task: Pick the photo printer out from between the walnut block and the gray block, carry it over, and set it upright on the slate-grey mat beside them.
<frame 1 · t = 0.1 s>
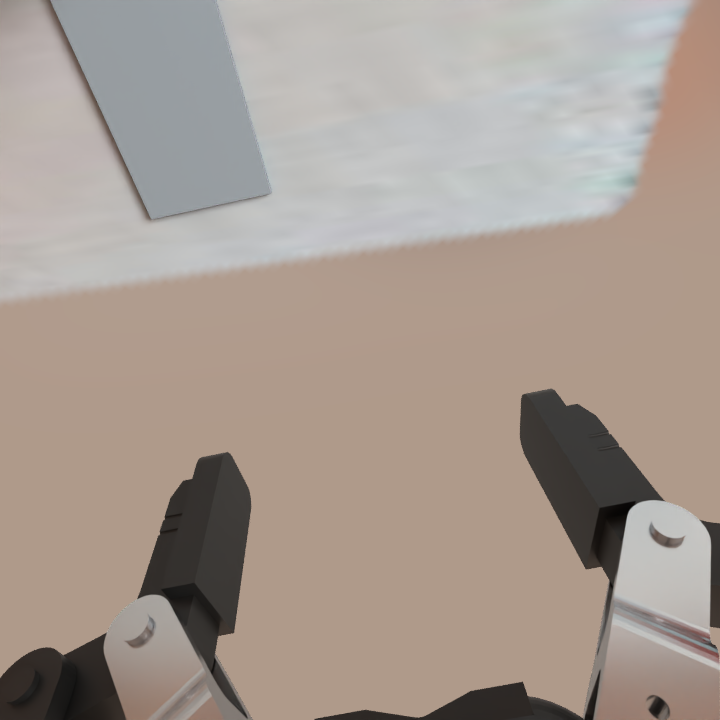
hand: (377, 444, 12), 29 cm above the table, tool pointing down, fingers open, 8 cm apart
slate mat: (173, 100, 31), on the table
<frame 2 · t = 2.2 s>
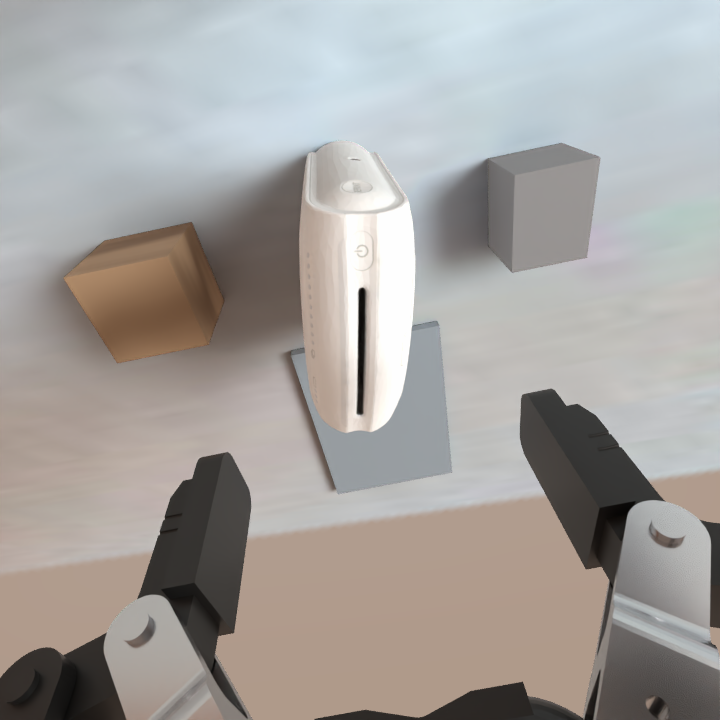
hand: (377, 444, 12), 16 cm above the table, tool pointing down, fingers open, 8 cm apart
photo printer: (342, 234, 25), on the table
slate mat: (380, 416, 34), on the table
gray block: (521, 197, 25), on the table
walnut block: (168, 271, 26), on the table
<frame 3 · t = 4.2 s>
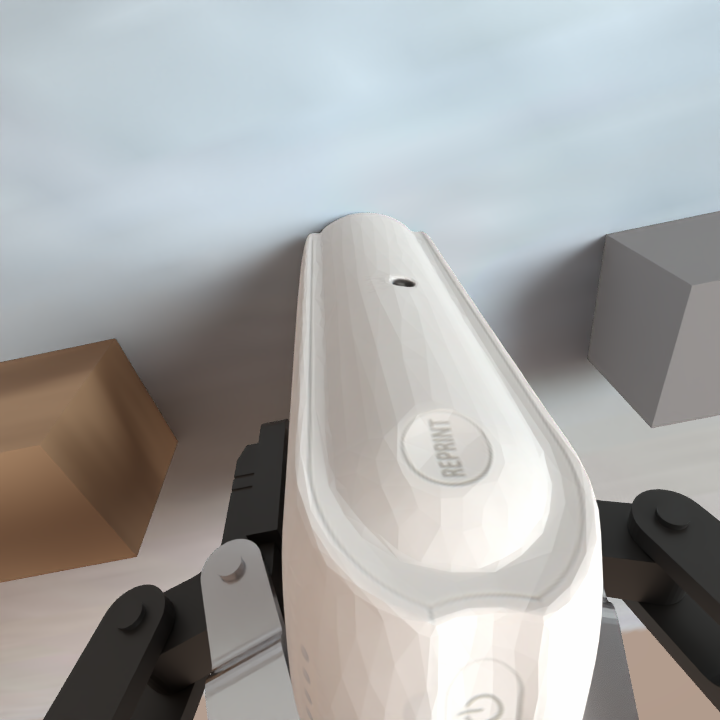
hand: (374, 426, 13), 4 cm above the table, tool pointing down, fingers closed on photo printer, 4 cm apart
photo printer: (362, 348, 16), on the table, touching gripper
gray block: (650, 289, 16), on the table
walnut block: (85, 406, 16), on the table
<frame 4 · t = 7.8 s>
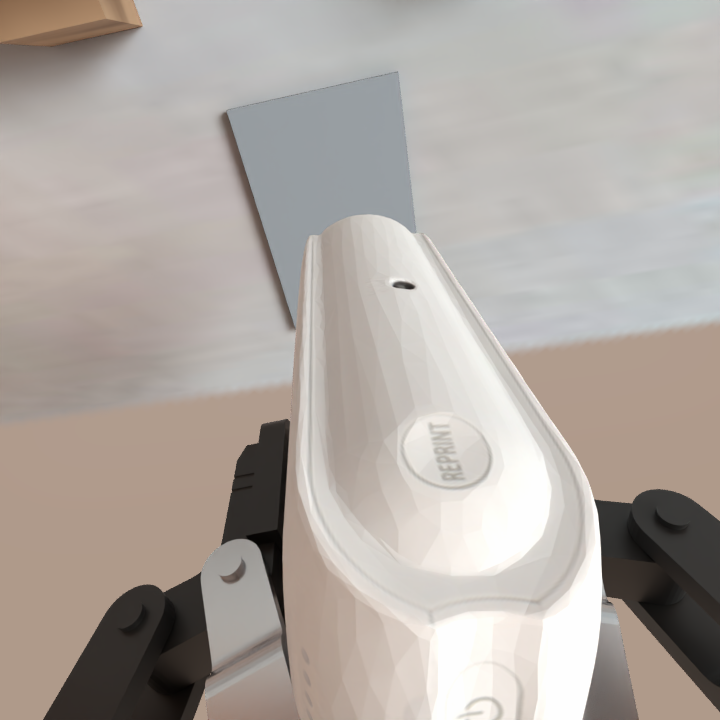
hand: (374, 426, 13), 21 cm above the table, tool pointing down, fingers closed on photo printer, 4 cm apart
photo printer: (362, 349, 16), point 16 cm above the table, touching gripper
slate mat: (339, 218, 30), on the table
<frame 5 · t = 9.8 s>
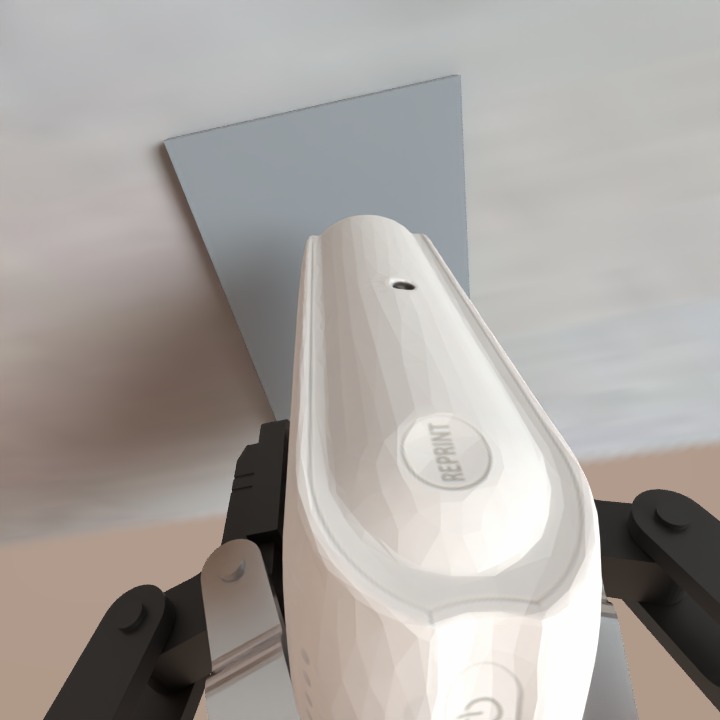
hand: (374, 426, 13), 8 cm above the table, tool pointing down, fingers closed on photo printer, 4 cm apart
photo printer: (362, 349, 16), point 4 cm above the table, touching gripper
slate mat: (352, 300, 19), on the table
when the fingers open (6 cm above the table, at t = 11.2 s): photo printer drops 1 cm, resting on slate mat.
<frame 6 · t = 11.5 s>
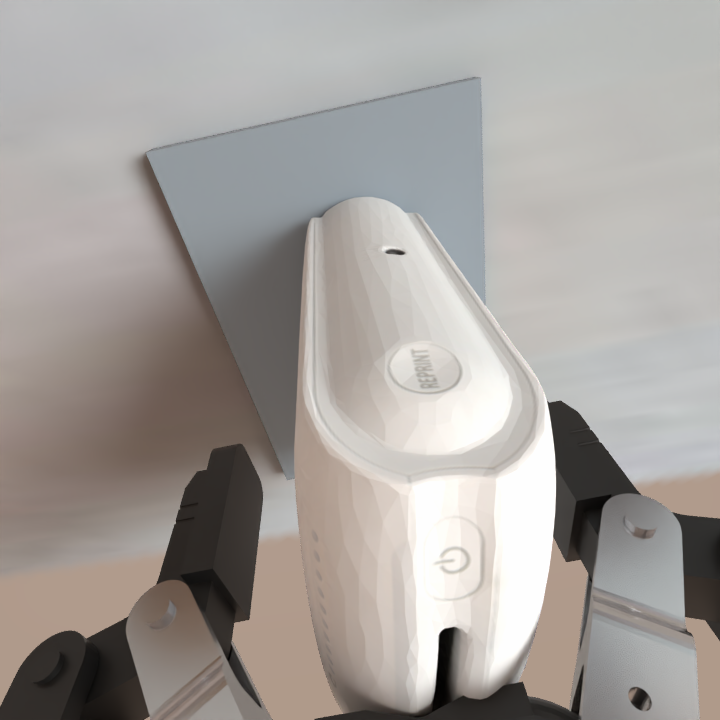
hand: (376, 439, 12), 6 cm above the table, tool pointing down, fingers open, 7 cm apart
photo printer: (364, 326, 17), resting on slate mat
slate mat: (357, 323, 17), on the table
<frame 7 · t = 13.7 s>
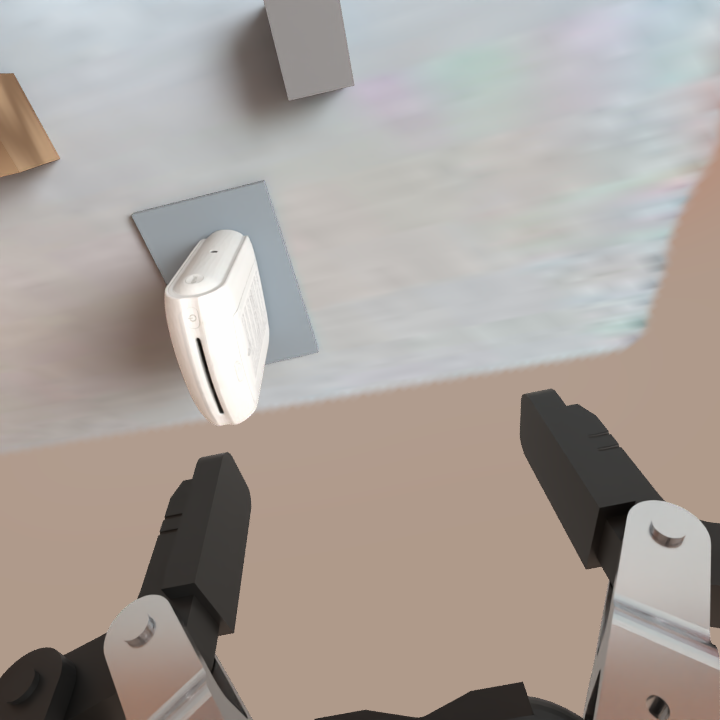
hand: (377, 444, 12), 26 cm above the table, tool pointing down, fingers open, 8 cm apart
photo printer: (238, 288, 36), resting on slate mat
slate mat: (236, 288, 36), on the table
gray block: (311, 45, 28), on the table
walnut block: (2, 127, 29), on the table
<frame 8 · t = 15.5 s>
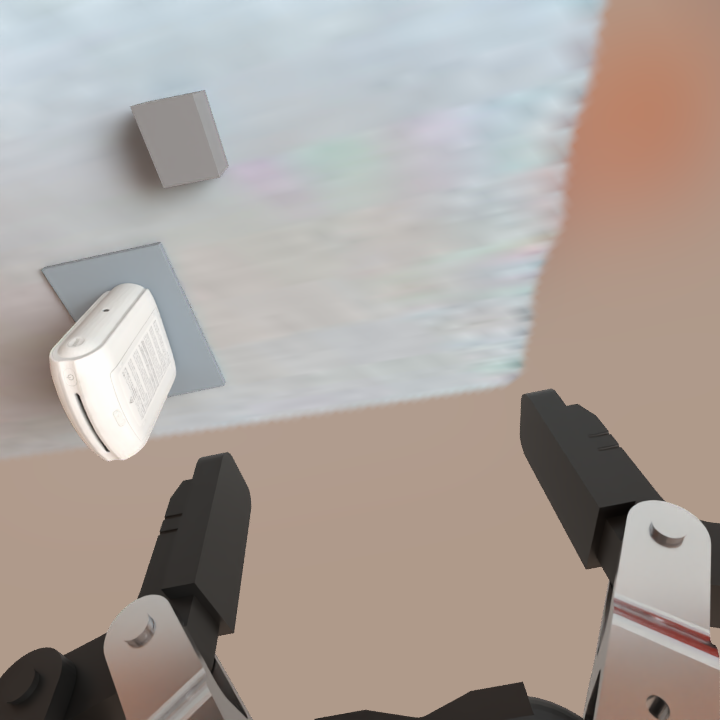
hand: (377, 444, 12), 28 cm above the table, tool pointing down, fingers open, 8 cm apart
photo printer: (145, 331, 40), resting on slate mat
slate mat: (144, 330, 41), on the table
gray block: (191, 134, 32), on the table
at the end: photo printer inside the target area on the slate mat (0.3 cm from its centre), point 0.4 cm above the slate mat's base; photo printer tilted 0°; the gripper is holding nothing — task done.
